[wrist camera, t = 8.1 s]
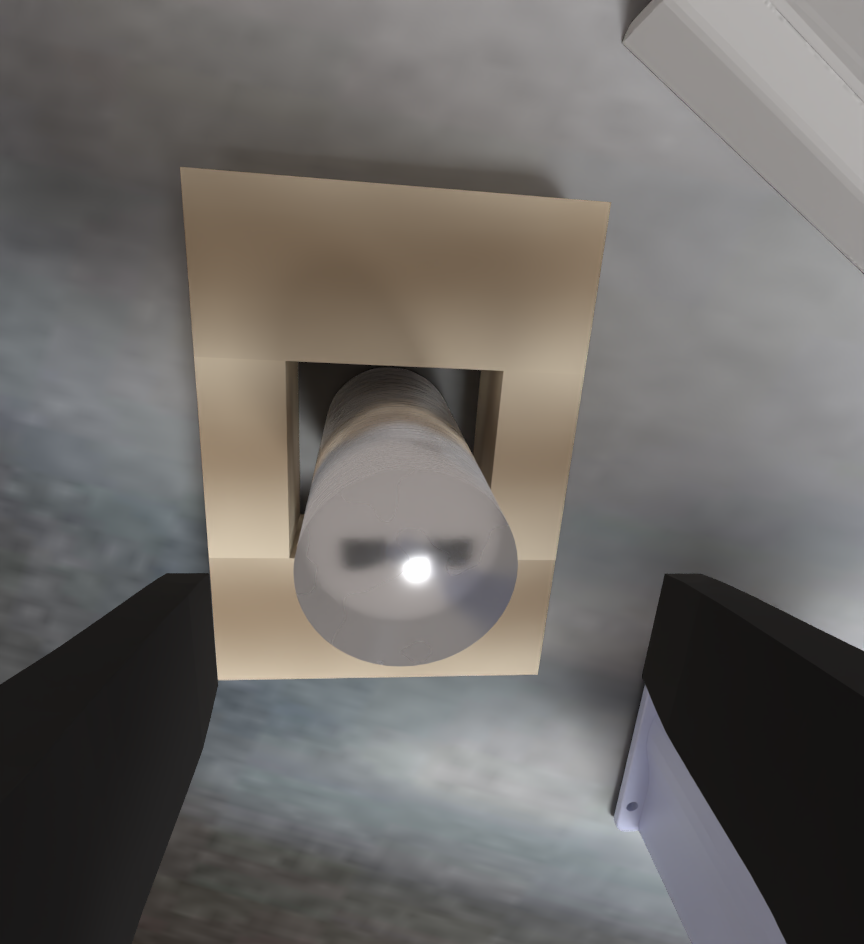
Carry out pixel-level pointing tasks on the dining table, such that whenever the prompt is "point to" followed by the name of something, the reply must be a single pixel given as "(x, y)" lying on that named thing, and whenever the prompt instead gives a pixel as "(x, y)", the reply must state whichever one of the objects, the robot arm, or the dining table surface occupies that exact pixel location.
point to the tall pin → (400, 528)
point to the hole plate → (379, 343)
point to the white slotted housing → (774, 94)
